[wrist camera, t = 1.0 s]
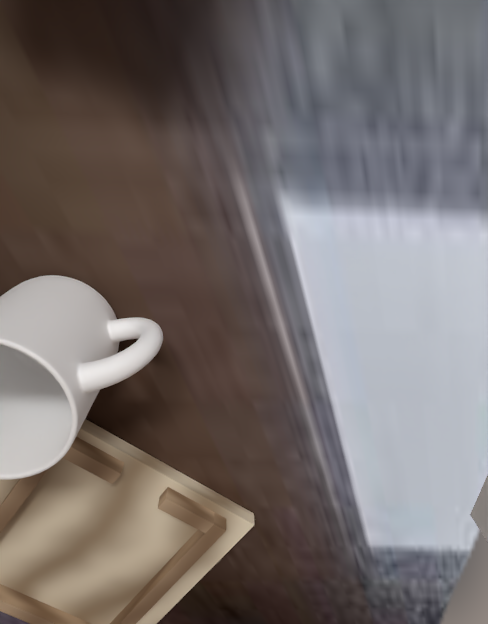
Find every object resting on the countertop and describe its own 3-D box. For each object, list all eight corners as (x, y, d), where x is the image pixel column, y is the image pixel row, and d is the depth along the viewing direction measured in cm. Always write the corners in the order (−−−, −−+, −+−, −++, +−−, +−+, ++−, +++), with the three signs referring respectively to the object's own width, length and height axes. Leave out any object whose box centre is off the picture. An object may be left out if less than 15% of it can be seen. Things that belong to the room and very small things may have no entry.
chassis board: (-94, 545, 38) (-114, 570, 36) (15, 379, 33) (0, 397, 30) (128, 641, 44) (122, 669, 41) (253, 513, 38) (255, 537, 36)
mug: (158, 251, 30) (124, 306, 20) (186, 360, 33) (168, 454, 23) (-17, 283, 30) (-132, 353, 20) (27, 388, 33) (-55, 492, 23)
